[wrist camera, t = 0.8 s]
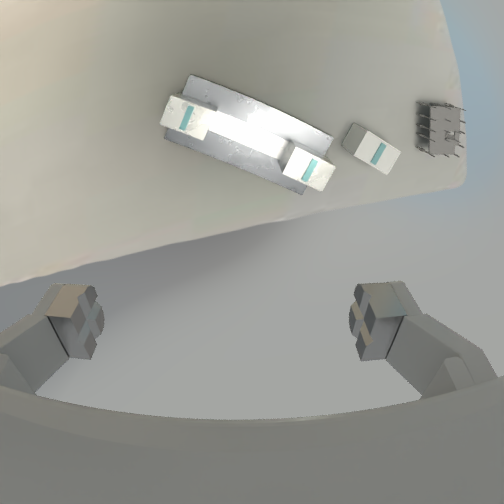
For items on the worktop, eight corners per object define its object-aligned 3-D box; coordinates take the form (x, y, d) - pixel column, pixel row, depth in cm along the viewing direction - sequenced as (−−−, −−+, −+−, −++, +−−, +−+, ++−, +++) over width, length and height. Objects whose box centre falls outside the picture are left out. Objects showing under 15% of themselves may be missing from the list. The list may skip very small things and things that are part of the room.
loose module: (353, 122, 43) (368, 130, 37) (384, 141, 44) (402, 152, 39) (341, 145, 45) (354, 156, 39) (372, 162, 46) (388, 176, 41)
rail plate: (188, 73, 39) (179, 73, 33) (334, 137, 44) (347, 148, 38) (163, 135, 43) (151, 146, 38) (303, 193, 49) (311, 211, 43)
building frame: (446, 102, 40) (467, 108, 35) (444, 148, 44) (464, 158, 39) (415, 100, 40) (434, 105, 35) (414, 148, 45) (433, 159, 40)
